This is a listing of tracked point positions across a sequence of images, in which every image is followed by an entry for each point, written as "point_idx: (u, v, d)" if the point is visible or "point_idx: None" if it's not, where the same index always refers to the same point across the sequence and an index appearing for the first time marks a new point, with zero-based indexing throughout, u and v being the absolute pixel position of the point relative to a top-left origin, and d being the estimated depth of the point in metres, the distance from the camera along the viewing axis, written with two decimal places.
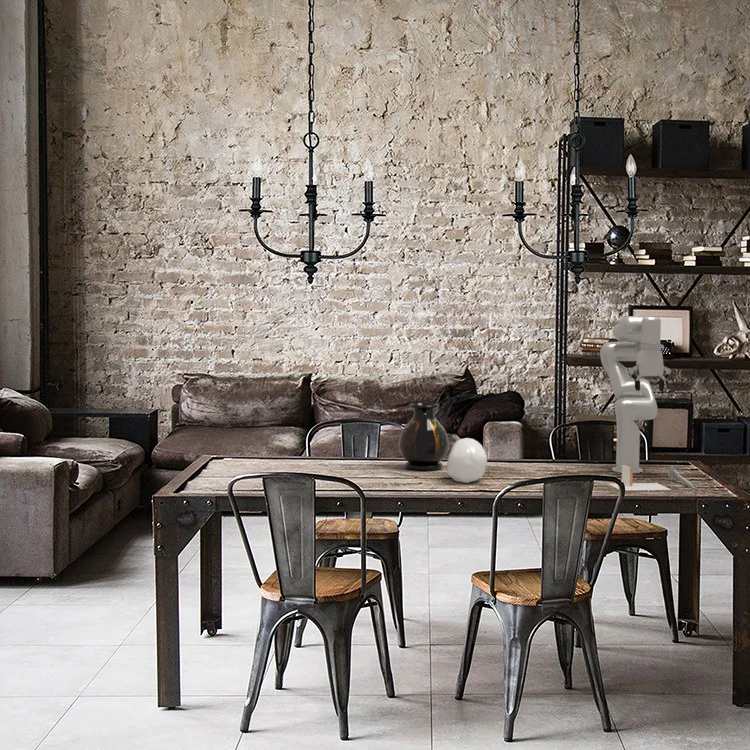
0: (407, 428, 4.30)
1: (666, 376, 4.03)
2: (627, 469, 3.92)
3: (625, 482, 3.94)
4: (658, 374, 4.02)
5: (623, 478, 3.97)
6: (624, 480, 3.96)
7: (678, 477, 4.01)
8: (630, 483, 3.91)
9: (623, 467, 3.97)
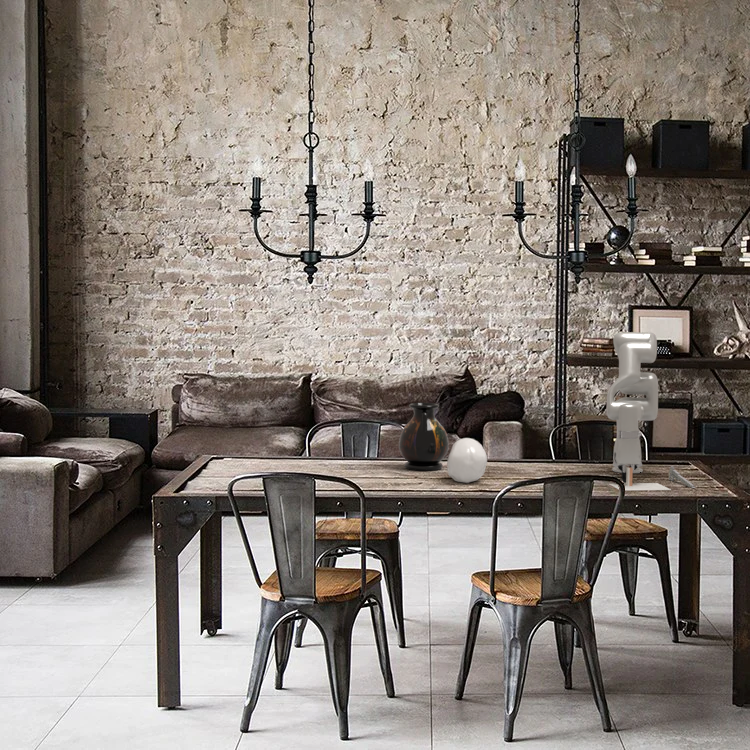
0: (407, 428, 4.30)
1: (634, 467, 3.94)
2: (627, 469, 3.92)
3: None
4: (635, 463, 3.93)
5: None
6: None
7: (678, 477, 4.01)
8: (629, 483, 3.91)
9: None
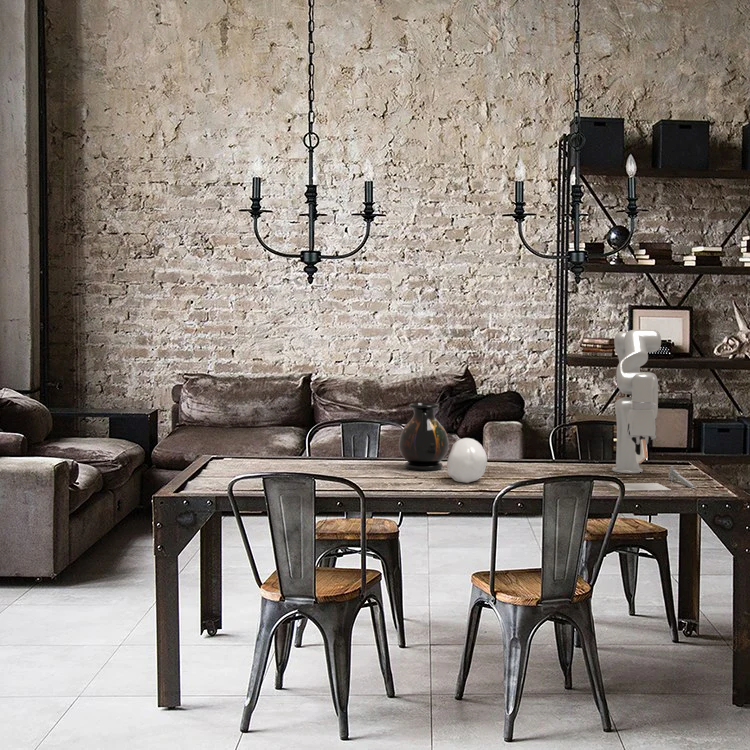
0: (407, 428, 4.30)
1: (648, 439, 3.84)
2: (640, 441, 3.83)
3: (640, 457, 3.84)
4: (650, 435, 3.83)
5: (637, 456, 3.86)
6: (639, 457, 3.85)
7: (678, 477, 4.01)
8: (644, 454, 3.81)
9: None
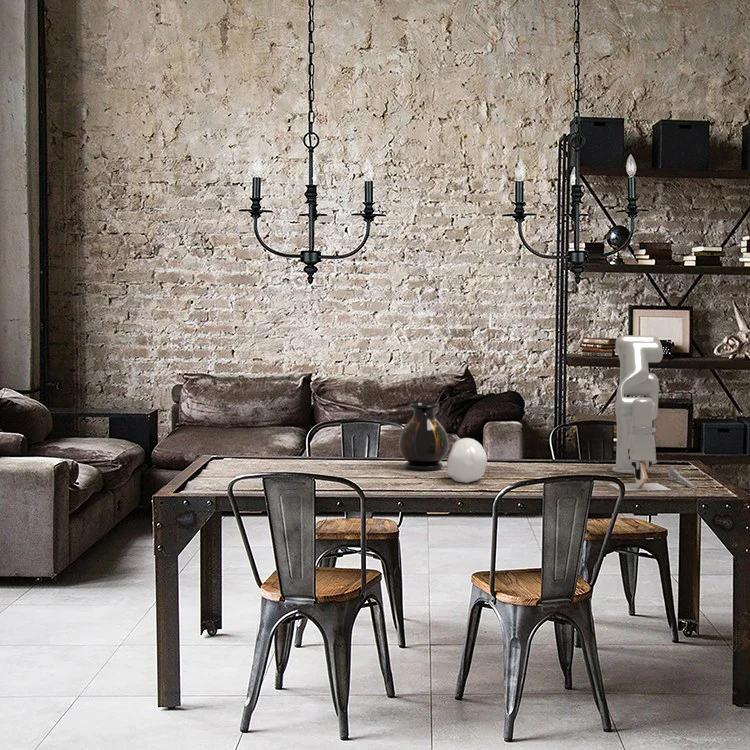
0: (407, 428, 4.30)
1: (649, 464, 3.84)
2: (639, 464, 3.84)
3: (640, 480, 3.83)
4: (650, 459, 3.83)
5: (638, 481, 3.86)
6: (639, 480, 3.84)
7: (678, 477, 4.01)
8: (644, 475, 3.80)
9: None
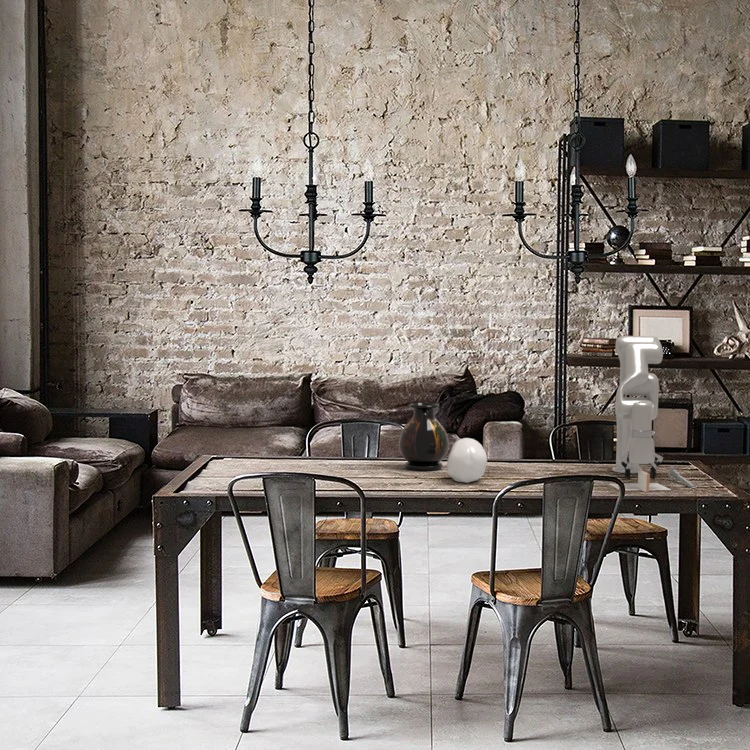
0: (407, 428, 4.30)
1: (657, 464, 3.85)
2: (644, 475, 3.79)
3: (641, 488, 3.82)
4: (649, 462, 3.84)
5: (639, 483, 3.84)
6: (640, 486, 3.83)
7: (678, 477, 4.01)
8: (646, 489, 3.78)
9: (639, 472, 3.84)
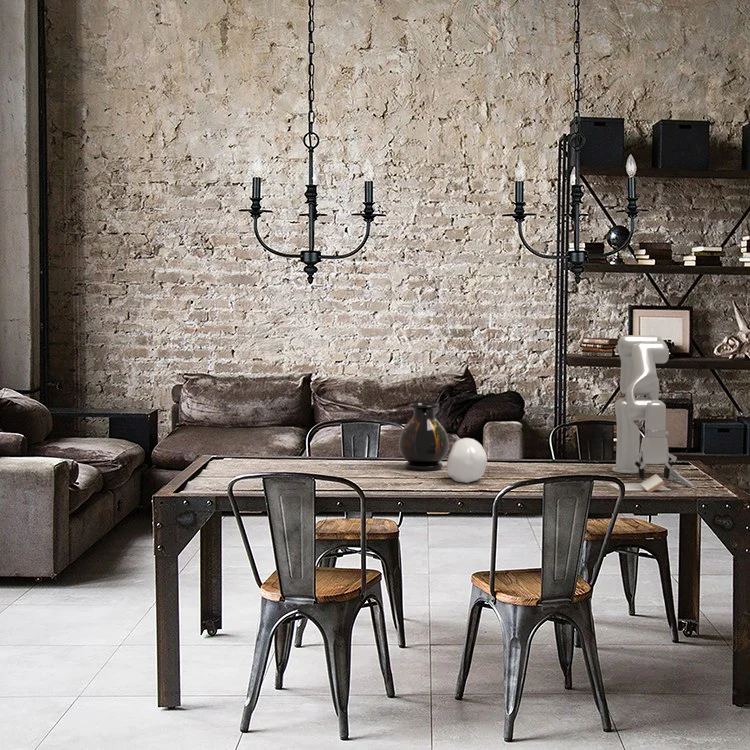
0: (407, 428, 4.30)
1: (671, 464, 3.86)
2: (660, 480, 3.79)
3: (645, 486, 3.82)
4: (663, 462, 3.84)
5: (646, 482, 3.84)
6: (645, 484, 3.83)
7: (678, 477, 4.01)
8: (650, 490, 3.78)
9: (655, 476, 3.84)
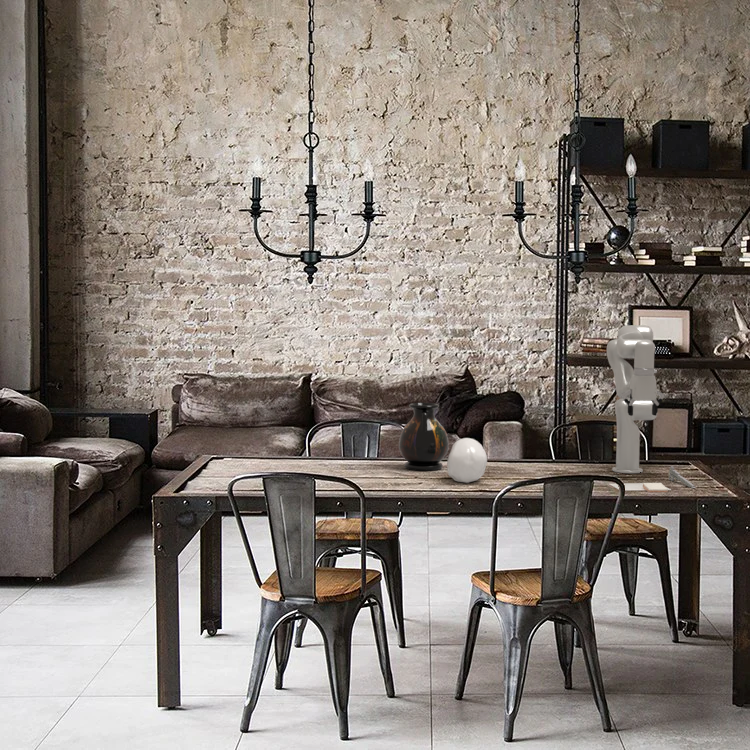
0: (407, 428, 4.30)
1: (659, 401, 4.00)
2: (665, 488, 3.80)
3: (648, 486, 3.82)
4: (651, 399, 3.99)
5: (649, 484, 3.84)
6: (649, 485, 3.83)
7: (678, 477, 4.01)
8: (652, 491, 3.78)
9: (660, 484, 3.85)
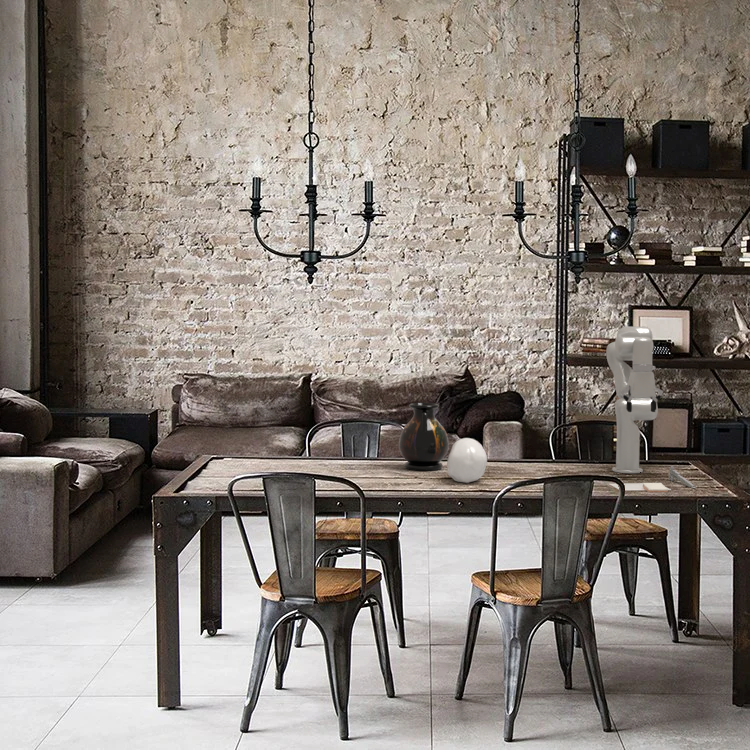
0: (407, 428, 4.30)
1: (658, 397, 4.01)
2: (665, 488, 3.80)
3: (648, 486, 3.82)
4: (650, 396, 4.00)
5: (649, 484, 3.84)
6: (649, 485, 3.83)
7: (678, 477, 4.01)
8: (652, 491, 3.78)
9: (660, 484, 3.85)
